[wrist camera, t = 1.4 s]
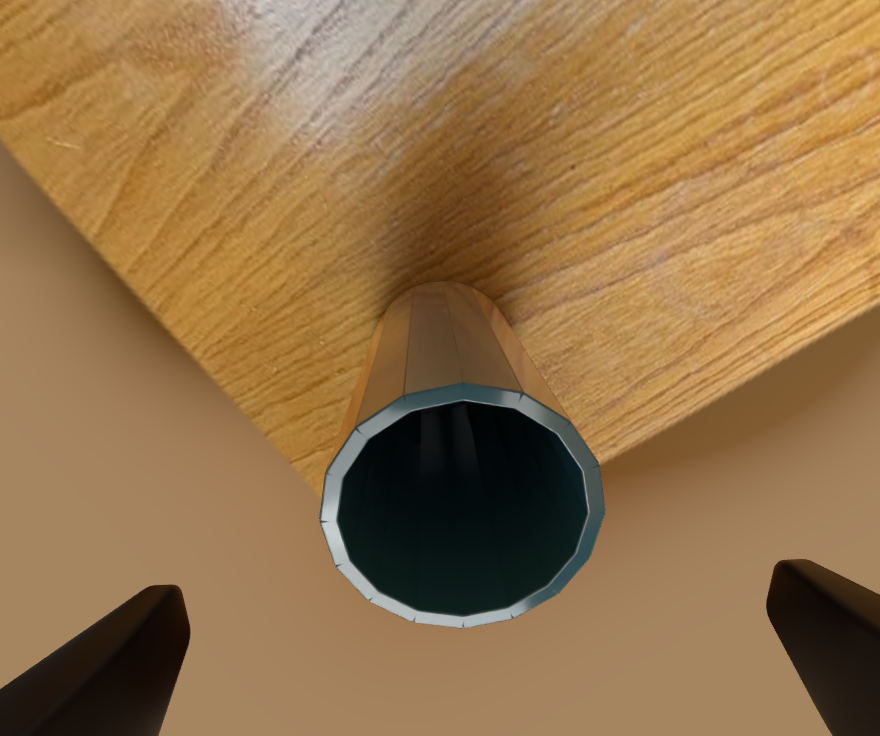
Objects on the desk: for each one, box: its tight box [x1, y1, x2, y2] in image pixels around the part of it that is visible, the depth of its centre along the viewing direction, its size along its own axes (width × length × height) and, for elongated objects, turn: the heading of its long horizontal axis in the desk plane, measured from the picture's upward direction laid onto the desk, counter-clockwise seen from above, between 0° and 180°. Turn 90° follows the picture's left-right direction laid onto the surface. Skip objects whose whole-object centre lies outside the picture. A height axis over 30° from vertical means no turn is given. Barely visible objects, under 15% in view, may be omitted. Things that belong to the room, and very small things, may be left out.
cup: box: [319, 281, 605, 628], centre depth 15 cm, size 5×5×11 cm
